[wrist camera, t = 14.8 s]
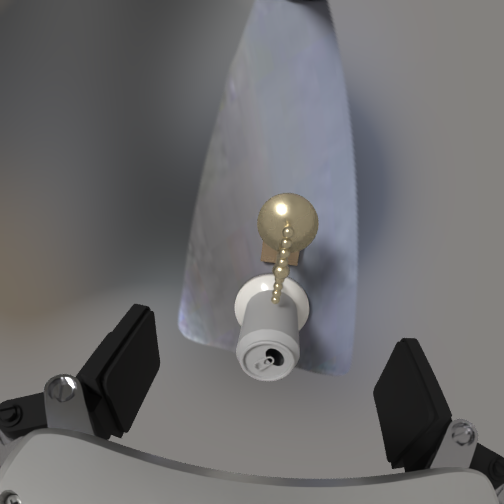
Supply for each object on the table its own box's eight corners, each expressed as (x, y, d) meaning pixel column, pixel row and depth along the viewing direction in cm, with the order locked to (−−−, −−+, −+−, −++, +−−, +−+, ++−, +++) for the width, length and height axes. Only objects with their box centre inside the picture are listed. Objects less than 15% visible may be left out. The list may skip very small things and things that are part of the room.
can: (305, 317, 42) (311, 373, 31) (262, 336, 44) (255, 393, 33) (281, 278, 40) (280, 328, 29) (236, 300, 42) (221, 352, 31)
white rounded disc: (238, 268, 42) (237, 271, 41) (315, 278, 41) (315, 282, 40) (233, 330, 46) (232, 334, 45) (301, 339, 45) (301, 343, 44)
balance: (266, 179, 37) (257, 195, 24) (312, 185, 37) (327, 205, 24) (255, 274, 42) (243, 328, 29) (297, 279, 42) (301, 336, 29)
